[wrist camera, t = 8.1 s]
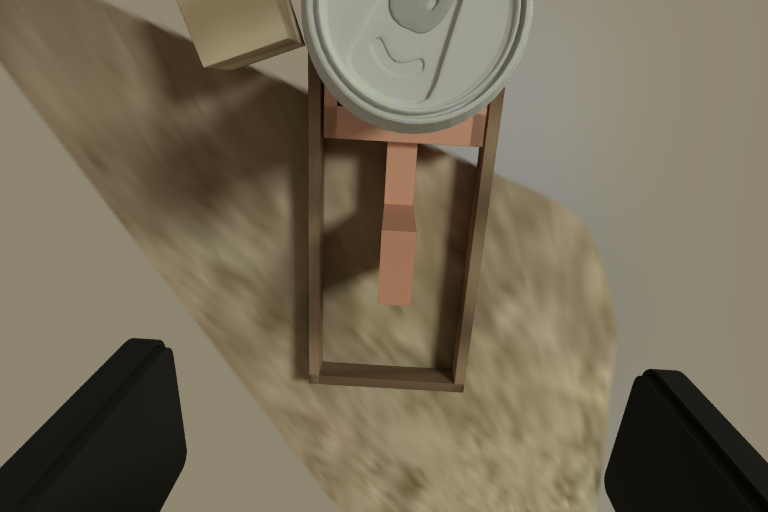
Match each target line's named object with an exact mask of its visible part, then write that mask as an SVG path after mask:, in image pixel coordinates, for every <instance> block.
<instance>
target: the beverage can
mask: <svg viewBox="0 0 768 512" xmlns="http://www.w3.org/2000/svg"><path fill="white" fill-rule="evenodd" d="M301 1H302V24H303V31H304V37H305V42H306V45H307V48H308V52H309V55H310V58H311V60H312V62H313V65H314V67H315V69H316V71H317V73H318V75H319V77H320V78H321V80H322V81H323V83H324V84H325V86H326V87H327V89H328V90H329V92H330V93H331V94H332V95H333V96H334V97H335V98H336V99H337V101H338V102H339V103H340V104H341V105H342V106H344V107H345V108H346V109H347V110H349V111H350V112H351V113H352V114H353V115H355V116H357V117H358V118H360V119H362V120H363V121H365V122H367V123H369V124H371V125H374V126H376V127H379V128H381V129H384V130H388V131H393V132H397V133H406V134H422V133H431V132H437V131H440V130H444V129H447V128H451V127H453V126H455V125H457V124H460V123H462V122H464V121H466V120H468V119H469V118H471V117H472V116H474V115H475V114H477V113H478V112H480V111H481V110H482V109H484V108H485V107H486V106H487V105H488V104H489V103H490V102H491V101H493V100H494V99H495V98H496V96H497V95H498V94H499V93H500V92H501V90H502V89H503V88H504V87H505V86H506V84H507V83H508V81H509V80H510V78H511V76H512V75H513V73H514V72H515V70H516V68H517V66H518V64H519V62H520V60H521V57H522V55H523V53H524V51H525V47H526V44H527V40H528V37H529V33H530V29H531V22H532V15H533V0H301Z"/></svg>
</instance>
